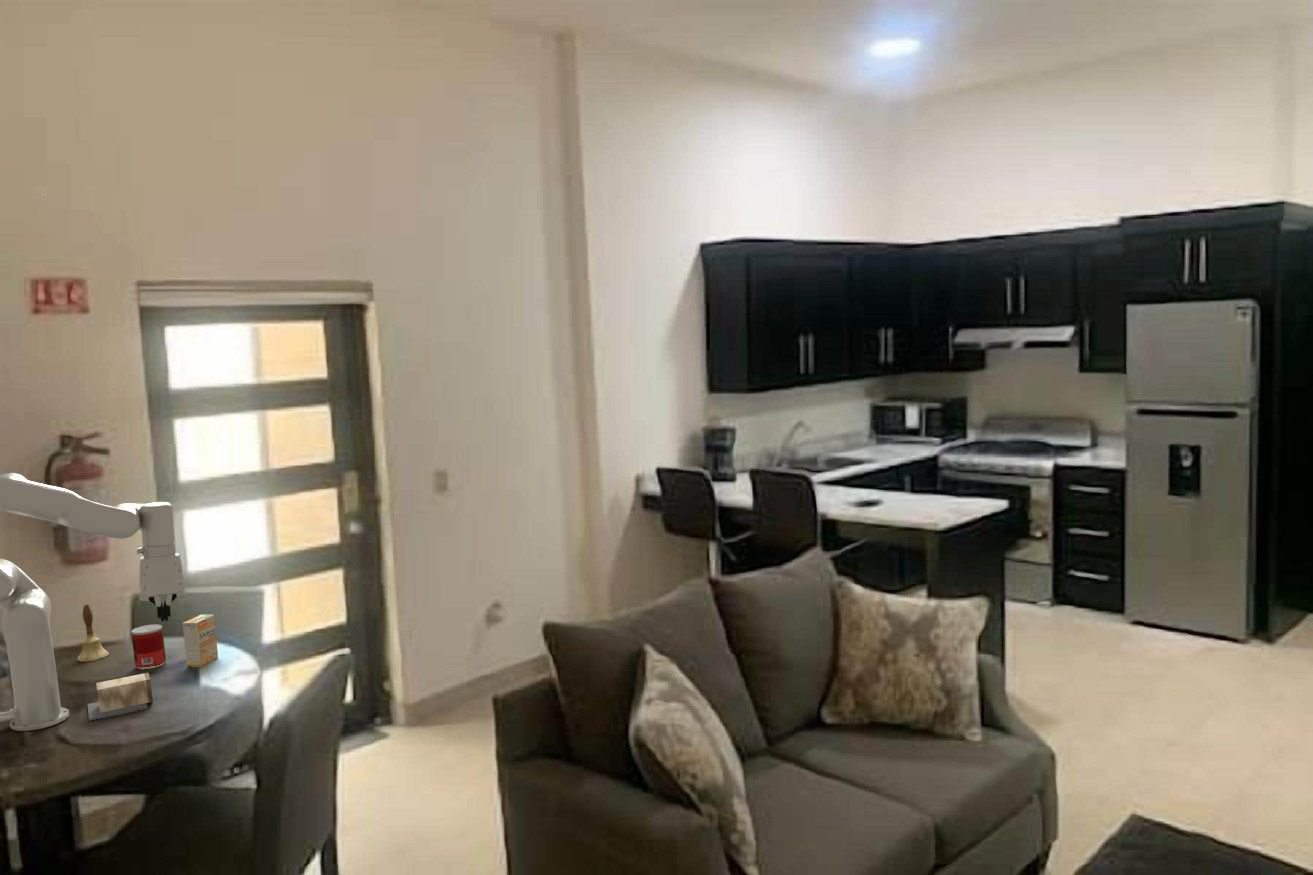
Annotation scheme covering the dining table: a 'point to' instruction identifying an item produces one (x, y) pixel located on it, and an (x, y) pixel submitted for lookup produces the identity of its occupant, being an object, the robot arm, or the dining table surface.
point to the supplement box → (200, 640)
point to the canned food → (148, 645)
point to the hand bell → (90, 640)
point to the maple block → (124, 692)
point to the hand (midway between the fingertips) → (164, 619)
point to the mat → (95, 711)
